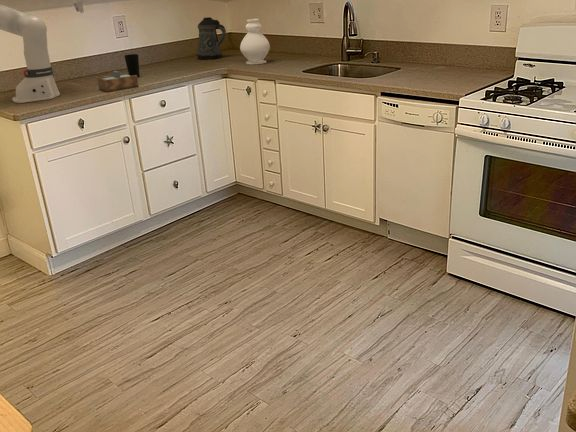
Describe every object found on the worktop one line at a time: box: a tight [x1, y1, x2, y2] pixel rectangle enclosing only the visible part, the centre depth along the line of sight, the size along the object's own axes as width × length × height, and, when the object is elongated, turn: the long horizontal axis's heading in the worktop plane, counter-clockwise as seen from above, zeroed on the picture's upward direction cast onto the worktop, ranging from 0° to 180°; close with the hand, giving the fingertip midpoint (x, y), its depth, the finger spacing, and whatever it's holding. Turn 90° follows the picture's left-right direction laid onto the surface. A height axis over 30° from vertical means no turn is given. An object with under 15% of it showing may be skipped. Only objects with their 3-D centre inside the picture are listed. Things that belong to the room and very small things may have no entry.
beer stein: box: [196, 16, 227, 61], centre depth 382 cm, size 16×19×25 cm
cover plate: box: [102, 70, 130, 80], centre depth 306 cm, size 14×8×4 cm, turn 128°
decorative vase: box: [239, 18, 271, 65], centre depth 355 cm, size 18×18×25 cm
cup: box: [124, 53, 141, 78], centre depth 334 cm, size 8×8×12 cm
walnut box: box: [96, 72, 139, 93], centre depth 307 cm, size 17×11×6 cm, turn 128°
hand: (80, 12), depth 296 cm, fingers open, 8 cm apart
